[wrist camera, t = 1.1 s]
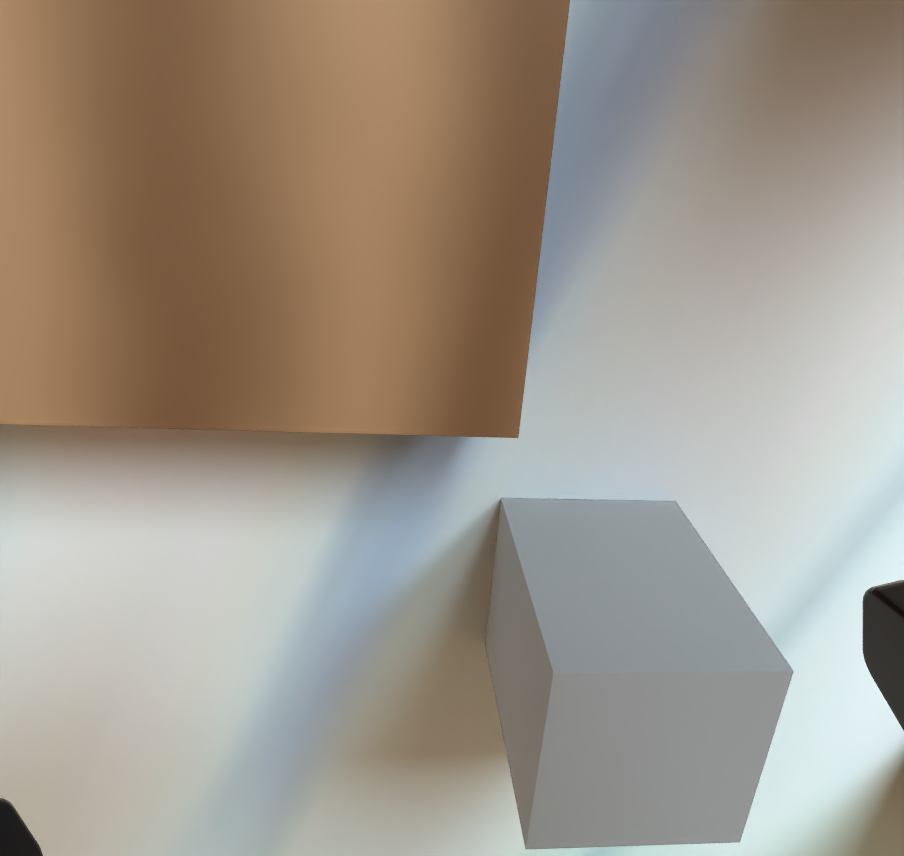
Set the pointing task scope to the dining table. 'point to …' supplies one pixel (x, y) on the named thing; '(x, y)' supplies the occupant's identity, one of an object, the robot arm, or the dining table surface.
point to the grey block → (626, 676)
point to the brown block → (273, 212)
